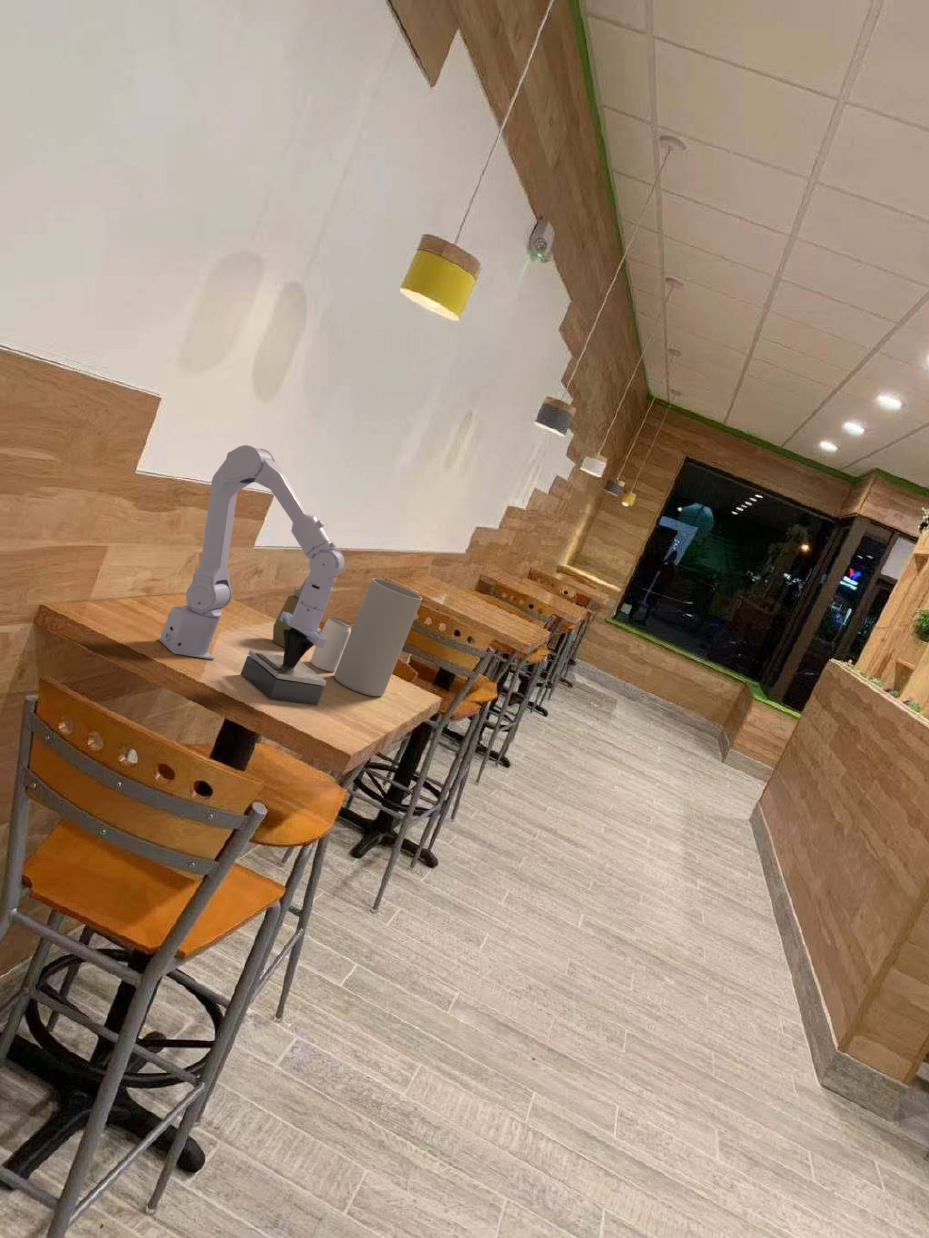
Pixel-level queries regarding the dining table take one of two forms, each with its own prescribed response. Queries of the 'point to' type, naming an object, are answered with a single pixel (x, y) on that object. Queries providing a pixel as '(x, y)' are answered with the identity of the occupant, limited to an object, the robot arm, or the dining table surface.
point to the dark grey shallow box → (280, 685)
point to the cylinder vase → (377, 637)
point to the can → (332, 644)
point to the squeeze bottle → (289, 608)
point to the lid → (286, 668)
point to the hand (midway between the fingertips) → (288, 666)
